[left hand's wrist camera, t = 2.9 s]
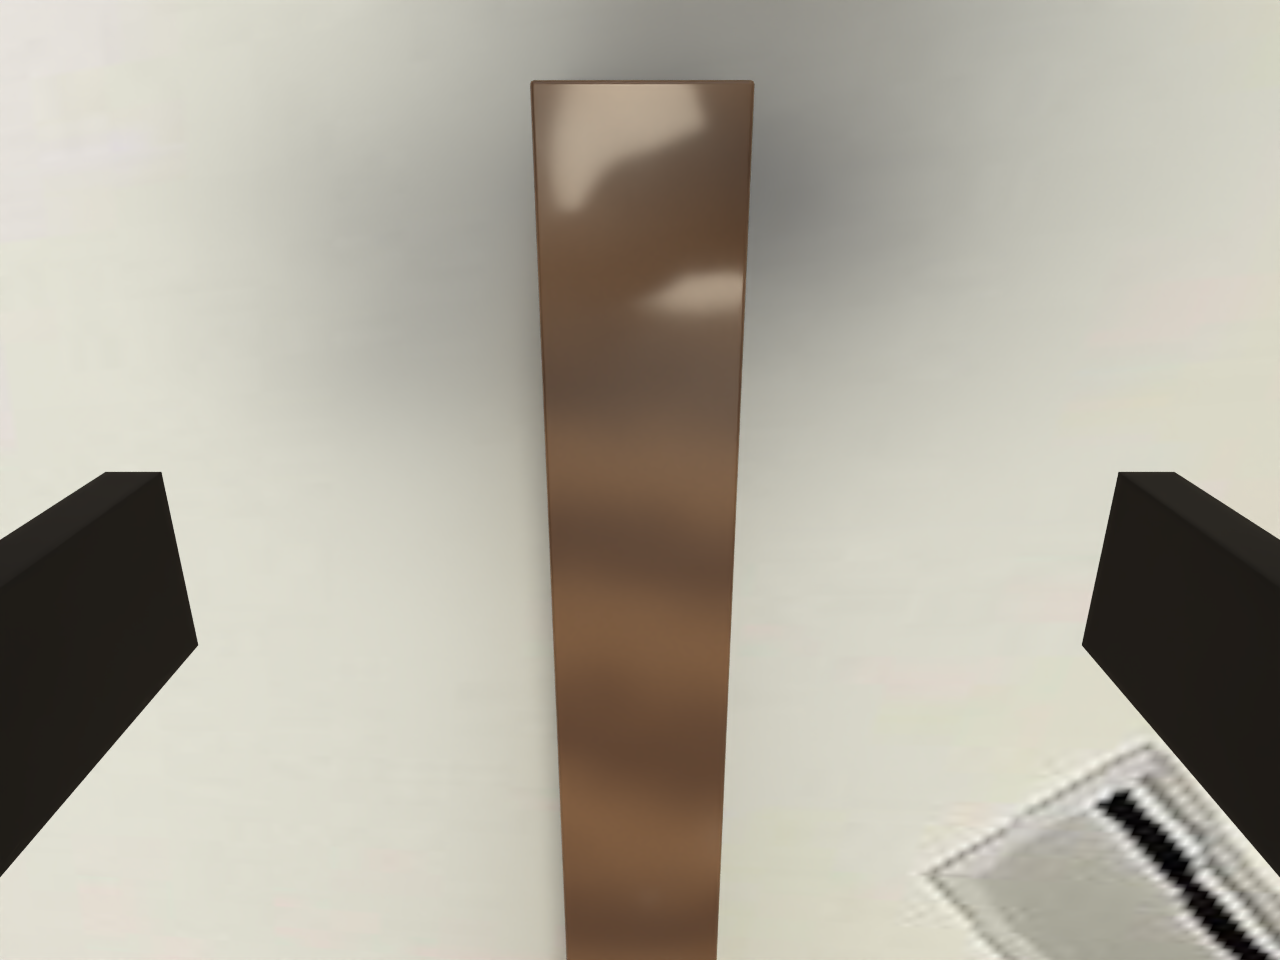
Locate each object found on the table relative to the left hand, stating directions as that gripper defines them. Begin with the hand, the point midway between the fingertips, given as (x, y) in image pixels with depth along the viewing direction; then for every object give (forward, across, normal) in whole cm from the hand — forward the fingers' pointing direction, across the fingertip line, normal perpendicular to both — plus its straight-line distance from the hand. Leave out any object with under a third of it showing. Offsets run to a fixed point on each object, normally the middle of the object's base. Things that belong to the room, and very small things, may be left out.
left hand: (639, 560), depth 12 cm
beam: (+21, 0, -25) cm, 32 cm away
